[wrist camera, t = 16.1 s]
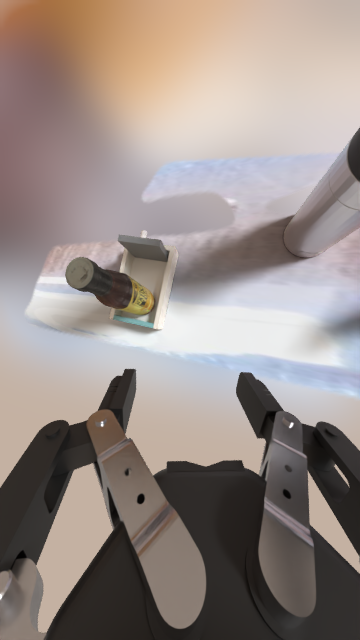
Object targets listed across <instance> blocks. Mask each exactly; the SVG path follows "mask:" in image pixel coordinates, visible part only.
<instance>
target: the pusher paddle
mask: <svg viewBox="0 0 360 640" xmlns="http://www.w3.org/2000/svg"><path fill="white" fill-rule="evenodd" d="M118 242H120V243H121V244H122V245H123V246H124V247H125V248H126V249H127V250H128V251H129V252H130V253H131V254H132V255H133V256H134V257H136V258H143V259H150V260H157V261H163V262H167V261H168V256H169V254H168V252H167V250H166V249H165V247H164V245H163V243H162V241H161V240H157V239H149V238H147V232H146V231H144V230H142V231H141V235H140V237H133V236H125V235H119V237H118Z"/></svg>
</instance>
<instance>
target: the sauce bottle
mask: <svg viewBox="0 0 360 640" xmlns="http://www.w3.org/2000/svg"><path fill="white" fill-rule="evenodd" d="M65 276H66V280H67V283H68V284H69V285H70V286H71V287H73V288H75V289H77V290H79V291H83V292H87V291H88V292H91V293H93V294H94V295H95V296H96V298H97V299H98V300H99V301H100V302H101V303H103V304H104V305H106V306H109V307H112V308H114V309H118V310H122V311H126V312H129V313H133V314H136V315H147V314H149V313H150V312H151V311H152V310H153V309H154V306H155V298H154V296H153V294H152V293H151V291H149V290H148V289H147V288H145V287H144V286H142V285H141V284H140V283H138V282H137V281H135V280H134V279H132V278H131V277H130V276H128V275H127V274H124V273H120V272H116V271H112V270H104V269H102V268H100V267H98V265H97V264H96V263H95V262H93V261H91V260H89V259H88V258H84V257H79V258H76V259H74V260H72V261H71V262H70V263H69V265H68V266H67V269H66V274H65Z"/></svg>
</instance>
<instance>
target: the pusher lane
mask: <svg viewBox="0 0 360 640" xmlns="http://www.w3.org/2000/svg"><path fill="white" fill-rule="evenodd" d="M164 247H165V249H166V250H167V252H168V254H169V256H168V261H167V262H163V261H157V260H150V259H143V258H136V257H134V256H133V255H132V254H131V253H130V252H129V251H128V250H127V249H126V248H124V253H123V257H122V262H121V266H120V271H119V272H120V273H124V274H127V275H128V276H130V277H131V278H132V279H134V280H135V281H137V282H138V283H140V284H141V285H142V286H144V287H145V288H147V289H148V290H149V291H151V293H152V294H153V296H154V298H155V306H154V309H153V310H152V311H151V312H150V313H149V314H147V315H136V314H133V313H129V312H126V311H122V310H118V309H114V308H112V307H111V312H110V316H109V319H114V320H118V321H122V322H127V323H131V324H136V325H140V326H145V327H149V328H154V329H163V325H164V321H165V316H166V311H167V307H168V302H169V297H170V293H171V288H172V283H173V279H174V274H175V269H176V265H177V260H178V255H179V254H178V252H177V250H176V247H175V246H167V245H164Z"/></svg>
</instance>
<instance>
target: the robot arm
mask: <svg viewBox="0 0 360 640" xmlns="http://www.w3.org/2000/svg"><path fill="white" fill-rule="evenodd" d="M359 227H360V128H359V129H358V131H357V132H356V133H355V135H354V136H353V137H352V139H351V140H350V141H349V143H348V144H347V145H346V147H345V148H344V149H343V151H342V152H341V154H340V155H339V156H338V158H337V159H336V160H335V162H334V163H333V164H332V166H331V167H330V169H329V170H328V171H327V173H326V174H325V175H324V176H323V178H322V179H321V180H320V182H319V183H318V184H317V186H316V187H315V188H314V190H313V191H312V192H311V194H310V195H309V196H308V198H307V199H306V201H305V202H304V203H303V205H302V206H301V207H300V209H299V210H298V211H297V213H296V214H295V216H294V217H293V218H292V220H291V221H290V222H289V224H288V225H287V227H286V229H285V231H284V235H283V240H284V244H285V246H286V248H287V249H288V250H289V251H290V252H291V253H293V254H294V255H296V256H299V257H314V256H317V255H319V254H321V253H323V252H324V251H326V250H327V249H329V248H330V247H332V246H333V245H334V244H336V243H338V242H339V241H340V240H342V239H343V238H345V237H346V236H348V235H349V234H351V233H352V232H354V231H355V230H356V229H358V228H359ZM135 392H136V370H135V369H125V370H124V373H123V375H122V376H116V377H115V378H114V379H113V380H112V381H111V383H110V386H109V388H108V390H107V392H106V394H105V396H104V398H103V400H102V403H101V405H100V407H99V409H98V411H97V412H95V413H94V414H92V415H91V416H90V417H89V419H88V420H87V421H84V422H81V423H77V424H74V425H70V426H69V424H68V422H66V421H64V420H57V421H54V422H51V423H49V424H47V425H46V426H44V427H43V428H42V429H41V430H40V431H39V432H38V434H37V435H36V436H35V438H34V439H33V441H32V442H31V444H30V445H29V447H28V448H27V450H26V451H25V452H24V454H23V455H22V457H21V458H20V460H19V461H18V463H17V464H16V466H15V467H14V469H13V470H12V471H11V473H10V474H9V476H8V477H7V479H6V480H5V482H4V483H3V485H2V486H1V488H0V640H360V574H359V573H358V572H357V571H356V570H355V569H354V568H353V567H352V566H351V565H350V564H349V563H348V562H347V561H346V560H345V559H344V558H343V557H342V556H341V555H340V554H339V553H338V552H337V551H336V550H335V549H334V548H333V547H332V546H331V545H330V544H329V543H328V542H327V541H326V540H325V539H324V538H323V537H322V536H321V535H320V534H319V533H318V532H317V531H316V530H315V529H314V528H313V527H312V526H311V525H310V523H309V498H308V471H309V473H310V475H311V476H312V478H313V480H314V481H315V483H316V485H317V486H318V488H319V490H320V491H321V493H322V495H323V496H324V498H325V500H326V501H327V503H328V505H329V506H330V508H331V510H332V511H333V513H334V515H335V516H336V518H337V520H338V521H339V523H340V525H341V526H342V528H343V530H344V531H345V533H346V535H347V536H348V538H349V540H350V541H351V543H352V545H353V547H354V548H355V550H356V552H357V553H358V555H359V562H360V451H359V450H358V449H357V447H356V446H355V445H354V444H353V443H352V442H351V441H350V440H349V439H348V438H347V437H346V436H345V435H344V434H343V432H342V431H340V430H339V429H338V428H336V427H335V426H333V425H331V424H329V423H326V422H318V423H317V425H316V427H313V426H309V425H306V424H302V423H301V422H300V421H299V420H298V419H297V418H296V417H295V416H294V415H292V414H290V413H288V412H285V411H284V410H283V409H282V408H281V406H280V405H279V403H278V402H277V401H276V399H275V398H274V397H273V396H272V394H271V393H270V391H268V389H267V387H266V386H265V385H264V384H263V383H262V382H261V381H259V380H256V379H255V377H254V376H253V374H252V373H247V372H241V373H240V375H239V379H238V383H237V387H236V394H237V397H238V399H239V401H240V403H241V405H242V407H243V409H244V411H245V414H246V415H247V418H248V420H249V422H250V424H251V426H252V428H253V430H254V432H255V434H256V436H257V438H265V440H266V443H265V447H264V452H263V458H262V462H261V467H260V472H259V475H258V474H256V473H255V472H253V471H251V470H249V469H246V468H244V466H243V463H242V461H241V460H239V461H237V460H236V461H235V460H234V461H221V462H219V463H216V464H213V465H210V466H207V467H205V466H201V465H197V464H194V463H190V462H187V461H170V462H169V461H168V462H167V469H164V470H161V471H160V472H158V473H156V474H155V475H152V473H151V472H150V470H149V468H148V467H147V465H146V463H145V461H144V459H143V458H142V456H141V455H140V452H139V451H138V449H137V447H136V446H135V444H134V442H133V440H132V439H131V438H129V439H127V437H126V435H125V433H126V429H127V425H128V421H129V417H130V413H131V409H132V405H133V401H134V397H135ZM91 463H93V465H94V469H95V472H96V475H97V478H98V481H99V484H100V487H101V490H102V493H103V497H104V501H105V505H106V509H107V512H108V515H109V518H110V522H111V525H112V528H113V531H112V533H111V534H110V536H109V537H108V539H107V540H106V542H105V543H104V544H103V546H102V547H101V549H100V550H99V552H98V553H97V555H96V556H95V557H94V559H93V560H92V562H91V563H90V565H89V566H88V568H87V569H86V571H85V572H84V573H83V575H82V577H81V578H80V579H79V581H78V582H77V584H76V585H75V587H74V588H73V589H72V591H71V593H70V594H69V595H68V597H67V598H66V600H65V601H64V603H63V604H62V606H61V607H60V609H59V611H58V612H57V614H56V616H55V617H54V619H53V621H52V623H51V625H50V627H49V629H48V631H47V633H41V632H38V613H39V608H40V604H41V601H42V596H43V580H42V578H41V575H40V573H39V571H38V569H37V567H36V565H37V562H38V559H39V557H40V554H41V552H42V549H43V547H44V544H45V542H46V539H47V537H48V534H49V532H50V529H51V526H52V524H53V521H54V519H55V516H56V514H57V511H58V509H59V506H60V503H61V501H62V498H63V496H64V493H65V491H66V488H67V486H68V483H69V481H70V478H71V476H72V473H73V471H74V470H75V469H77V468H80V467H82V466H86V465H88V464H91ZM335 464H336V465H337V466H338V468H339V469H340V470H341V471H342V473H343V474H344V475H345V477H346V478H347V480H348V483H349V486H350V488H349V486H348V485H347V484H346V482H345V481H344V480H343V478H342V477H341V475H340V474H339V473H338V471H337V470H336V469H335V467H334V465H335ZM307 470H308V471H307Z"/></svg>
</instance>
